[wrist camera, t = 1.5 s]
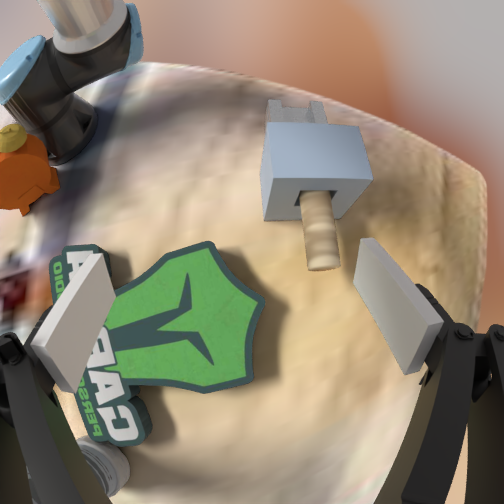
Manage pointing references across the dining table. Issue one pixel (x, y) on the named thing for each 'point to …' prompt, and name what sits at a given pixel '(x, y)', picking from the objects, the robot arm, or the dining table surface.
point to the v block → (295, 113)
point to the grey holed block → (311, 167)
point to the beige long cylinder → (319, 230)
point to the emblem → (162, 336)
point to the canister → (99, 466)
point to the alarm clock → (23, 169)
